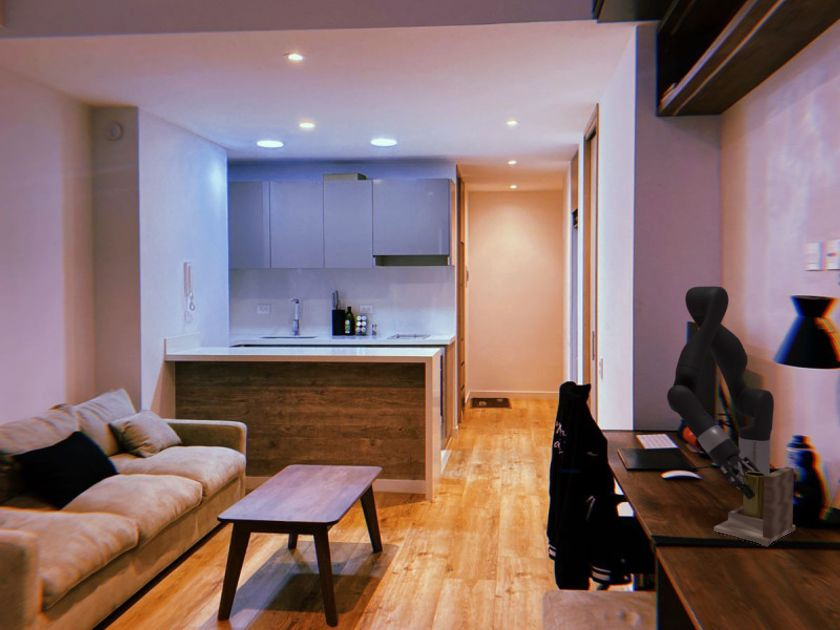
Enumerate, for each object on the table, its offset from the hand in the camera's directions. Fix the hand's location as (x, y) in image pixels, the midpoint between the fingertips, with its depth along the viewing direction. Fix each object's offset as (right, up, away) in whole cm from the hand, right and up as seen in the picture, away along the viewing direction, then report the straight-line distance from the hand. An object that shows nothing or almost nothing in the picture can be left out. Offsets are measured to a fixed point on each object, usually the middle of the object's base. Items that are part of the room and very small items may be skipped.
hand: (759, 494), depth 190 cm
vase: (-1, -9, +1) cm, 9 cm away
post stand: (-1, -10, +1) cm, 10 cm away
